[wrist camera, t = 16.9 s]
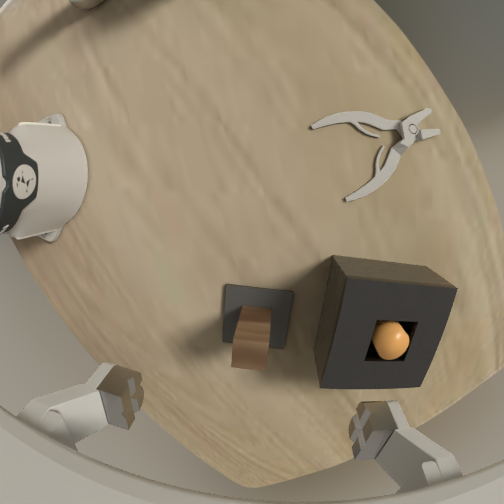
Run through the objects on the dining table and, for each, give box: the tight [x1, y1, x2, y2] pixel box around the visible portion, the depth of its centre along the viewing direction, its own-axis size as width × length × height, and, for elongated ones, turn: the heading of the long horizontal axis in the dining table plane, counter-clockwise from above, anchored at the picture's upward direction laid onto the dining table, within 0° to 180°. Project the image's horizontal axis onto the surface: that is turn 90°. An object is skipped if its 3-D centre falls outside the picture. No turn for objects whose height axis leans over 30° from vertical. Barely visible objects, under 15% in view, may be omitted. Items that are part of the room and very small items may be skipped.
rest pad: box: [223, 284, 293, 349], centre depth 36 cm, size 8×8×1 cm
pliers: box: [311, 108, 440, 201], centre depth 29 cm, size 10×2×15 cm
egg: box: [371, 320, 409, 360], centre depth 29 cm, size 4×4×6 cm
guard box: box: [314, 255, 458, 389], centre depth 31 cm, size 13×13×8 cm
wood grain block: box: [231, 305, 271, 371], centre depth 32 cm, size 4×4×8 cm
